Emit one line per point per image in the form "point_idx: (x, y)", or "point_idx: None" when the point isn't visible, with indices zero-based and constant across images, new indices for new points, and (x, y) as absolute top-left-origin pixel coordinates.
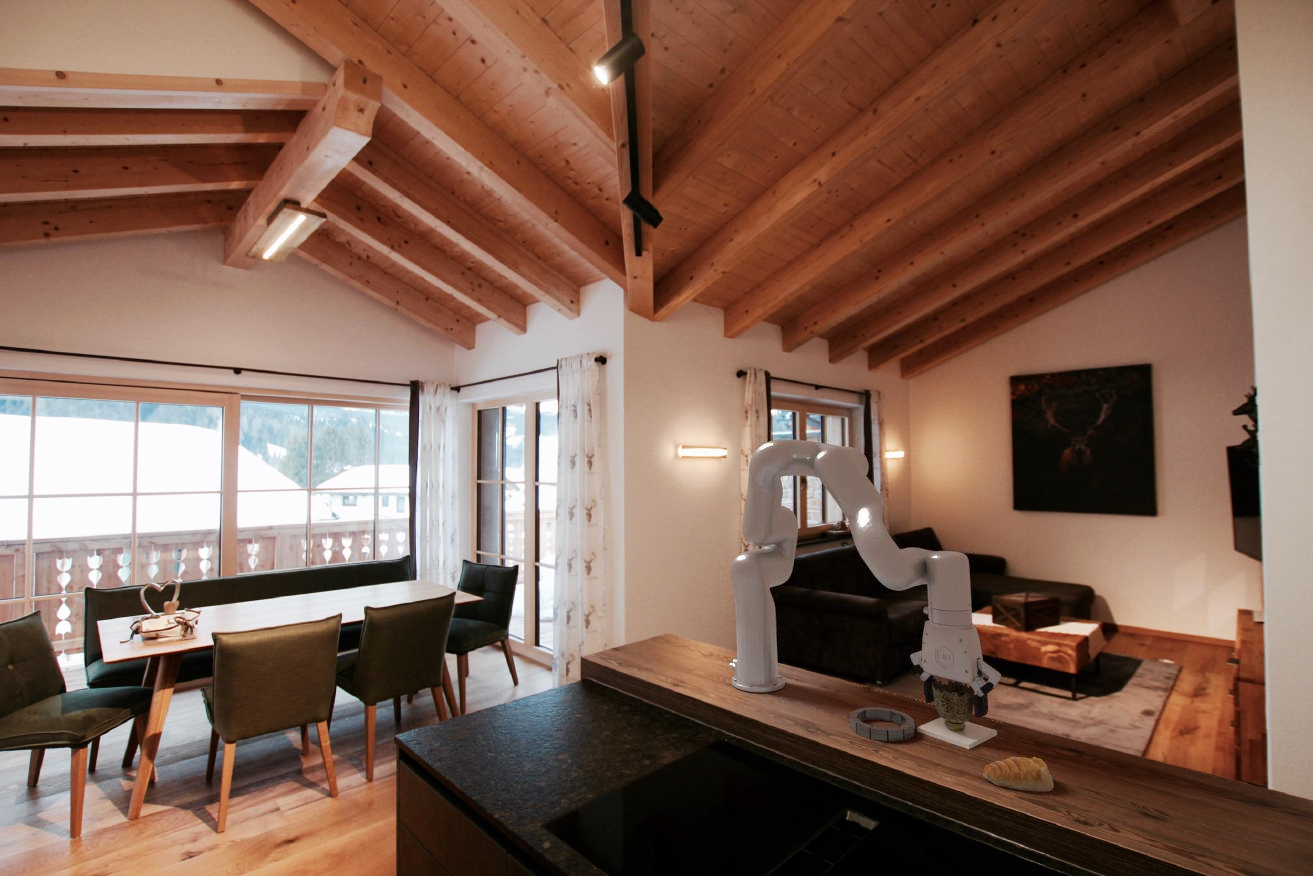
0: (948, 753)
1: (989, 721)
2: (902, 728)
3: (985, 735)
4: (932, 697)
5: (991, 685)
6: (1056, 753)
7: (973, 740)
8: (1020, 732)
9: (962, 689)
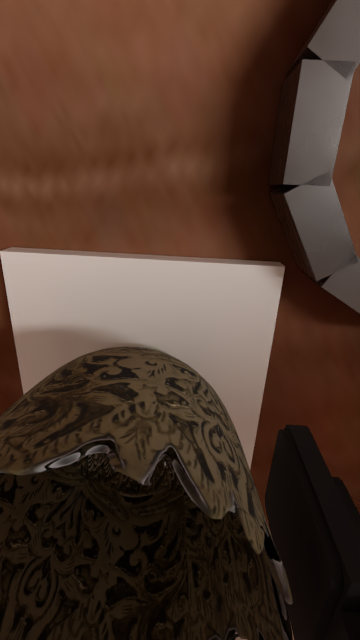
0: (35, 120)
1: None
2: (318, 66)
3: None
4: (280, 482)
5: None
6: None
7: (19, 314)
8: None
9: (110, 631)
